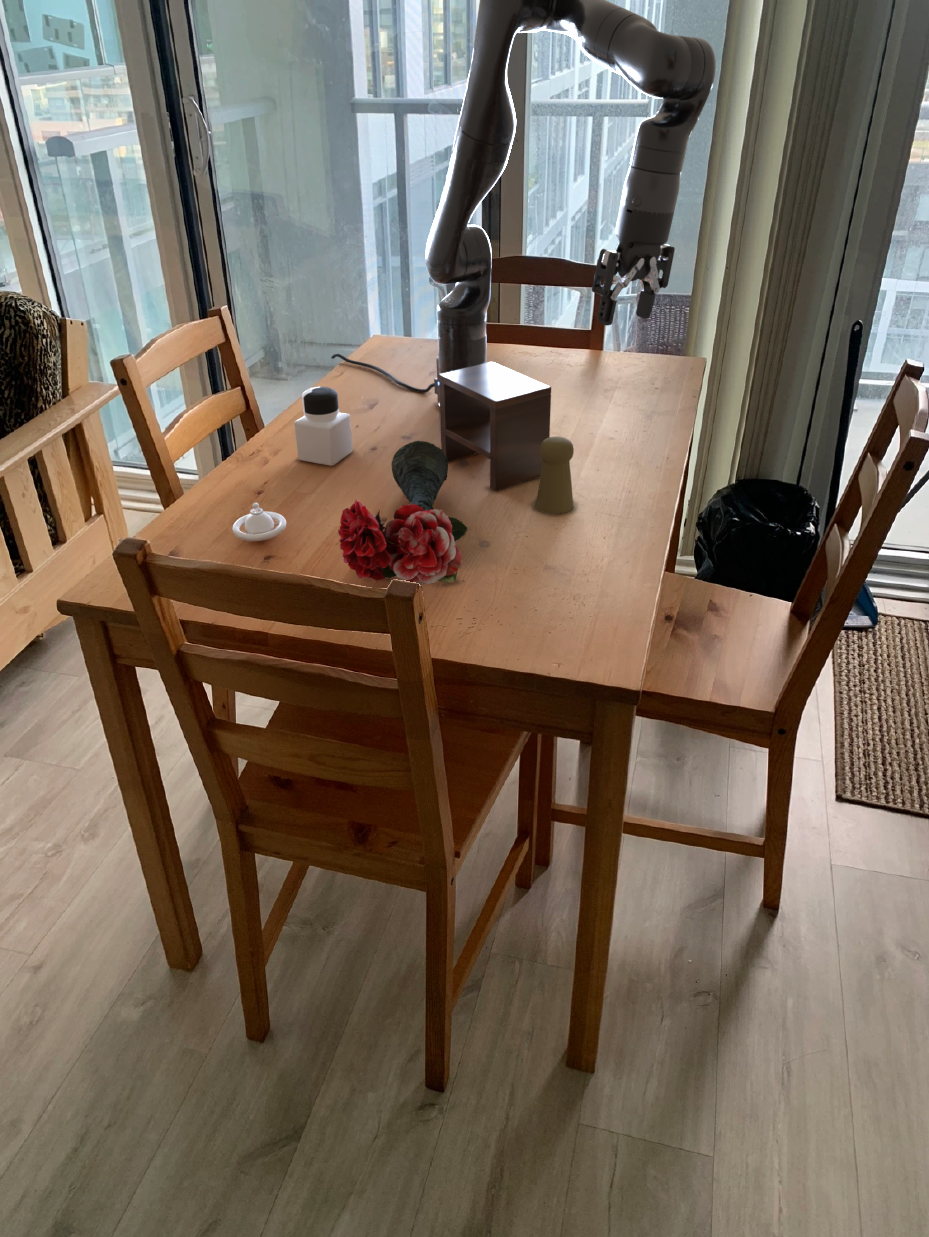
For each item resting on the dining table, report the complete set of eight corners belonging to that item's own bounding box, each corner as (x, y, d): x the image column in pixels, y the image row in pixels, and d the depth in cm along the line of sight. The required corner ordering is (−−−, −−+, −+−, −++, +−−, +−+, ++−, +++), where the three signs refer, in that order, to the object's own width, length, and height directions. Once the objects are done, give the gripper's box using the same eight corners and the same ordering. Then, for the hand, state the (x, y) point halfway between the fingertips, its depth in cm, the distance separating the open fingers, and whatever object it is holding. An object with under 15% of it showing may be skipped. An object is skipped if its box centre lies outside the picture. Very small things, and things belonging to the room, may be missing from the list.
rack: (441, 459, 164) (438, 374, 155) (492, 444, 169) (492, 361, 160) (495, 491, 152) (496, 401, 144) (548, 474, 158) (551, 386, 149)
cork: (532, 497, 150) (534, 433, 144) (569, 495, 151) (573, 431, 145) (538, 514, 145) (540, 448, 139) (576, 512, 146) (580, 446, 140)
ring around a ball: (298, 536, 140) (269, 518, 145) (293, 502, 137) (263, 485, 142) (253, 556, 136) (224, 537, 141) (246, 521, 133) (217, 503, 138)
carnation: (414, 536, 156) (420, 646, 126) (323, 471, 149) (306, 571, 119) (474, 466, 151) (496, 563, 120) (383, 395, 144) (381, 480, 114)
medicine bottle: (353, 451, 167) (348, 386, 160) (332, 467, 162) (325, 400, 155) (319, 445, 170) (312, 381, 163) (297, 460, 164) (289, 394, 158)
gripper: (659, 196, 136) (635, 308, 145) (593, 200, 128) (572, 318, 137) (700, 208, 132) (673, 323, 141) (635, 213, 124) (610, 334, 133)
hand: (623, 320), depth 139 cm, fingers open, 8 cm apart
